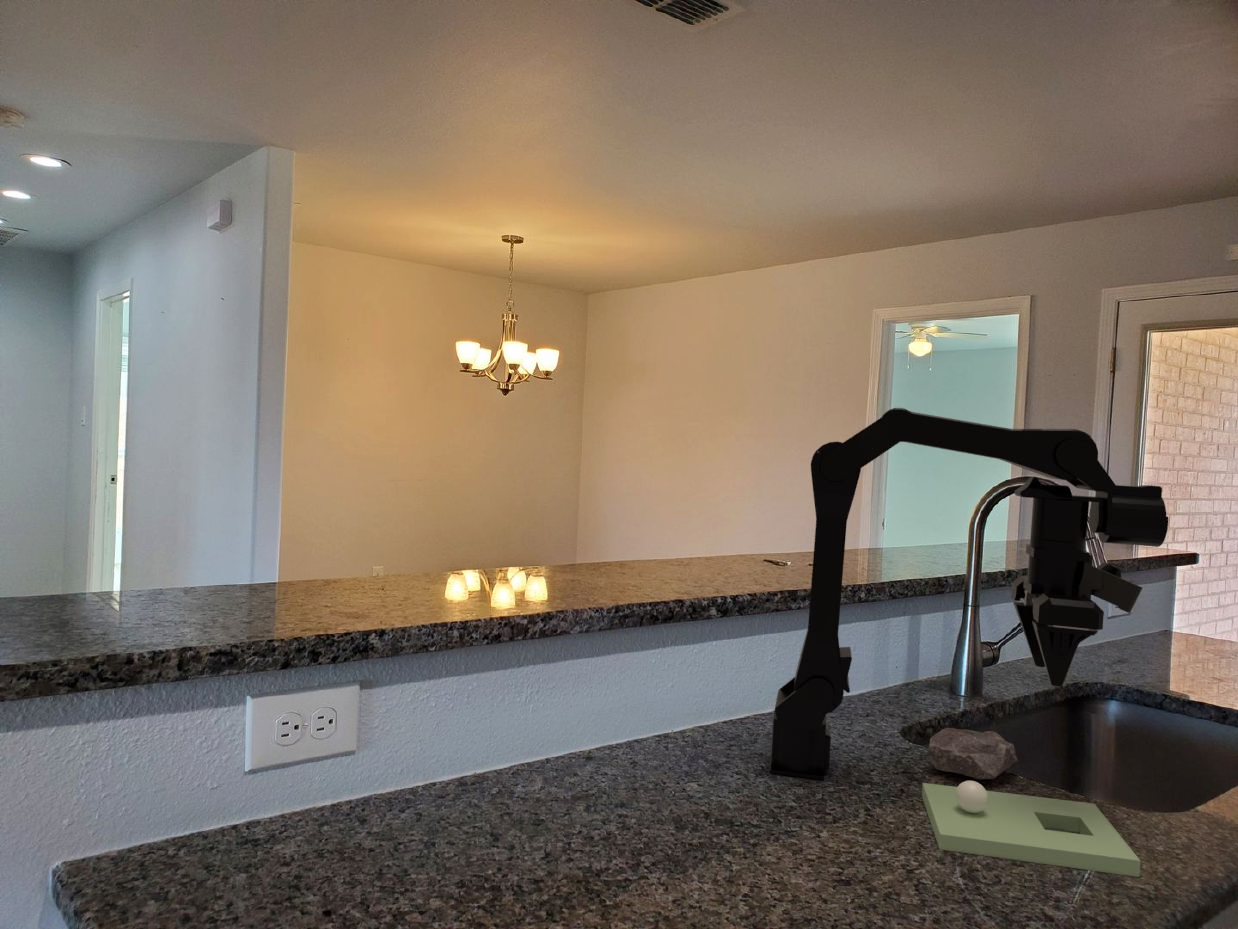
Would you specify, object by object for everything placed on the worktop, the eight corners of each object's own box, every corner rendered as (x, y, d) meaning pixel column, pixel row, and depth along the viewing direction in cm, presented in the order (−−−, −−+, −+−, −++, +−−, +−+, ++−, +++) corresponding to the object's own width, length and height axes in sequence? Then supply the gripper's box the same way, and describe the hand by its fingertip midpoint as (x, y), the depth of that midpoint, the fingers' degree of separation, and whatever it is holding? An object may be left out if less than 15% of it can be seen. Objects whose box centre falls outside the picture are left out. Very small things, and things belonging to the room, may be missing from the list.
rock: (1030, 768, 112) (1031, 731, 112) (987, 790, 104) (988, 750, 104) (967, 751, 118) (968, 716, 118) (922, 770, 110) (923, 733, 110)
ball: (957, 816, 94) (959, 785, 94) (952, 804, 97) (954, 774, 97) (989, 820, 93) (991, 789, 93) (983, 808, 96) (985, 778, 96)
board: (939, 850, 89) (940, 834, 89) (921, 796, 103) (922, 782, 102) (1139, 877, 85) (1140, 860, 85) (1093, 818, 99) (1094, 803, 99)
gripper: (1164, 555, 91) (1152, 707, 92) (1114, 538, 109) (1104, 665, 110) (1044, 545, 94) (1034, 693, 95) (1015, 530, 112) (1006, 655, 113)
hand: (1048, 675), depth 103 cm, fingers open, 9 cm apart
